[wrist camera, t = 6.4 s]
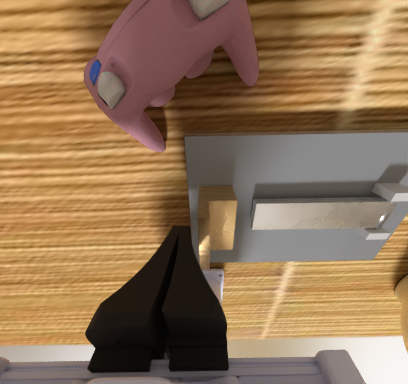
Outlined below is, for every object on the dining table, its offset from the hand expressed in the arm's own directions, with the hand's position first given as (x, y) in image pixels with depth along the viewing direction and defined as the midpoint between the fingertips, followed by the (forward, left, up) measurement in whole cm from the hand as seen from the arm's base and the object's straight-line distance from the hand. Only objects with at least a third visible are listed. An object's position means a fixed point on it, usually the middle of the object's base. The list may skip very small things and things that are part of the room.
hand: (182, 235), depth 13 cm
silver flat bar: (0, -13, -3) cm, 13 cm away
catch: (0, -3, -3) cm, 4 cm away
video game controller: (+11, 0, -5) cm, 12 cm away
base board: (0, -11, -5) cm, 12 cm away
